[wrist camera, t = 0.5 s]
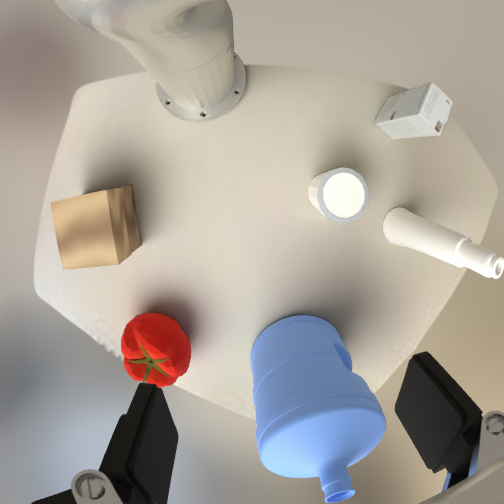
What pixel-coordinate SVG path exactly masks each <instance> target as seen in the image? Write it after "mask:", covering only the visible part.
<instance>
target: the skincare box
mask: <svg viewBox="0 0 504 504" xmlns="http://www.w3.org/2000/svg"><path fill="white" fill-rule="evenodd" d="M452 105H453V102H452V101H451V100H450V99H449V98H448V97H447V96H446V95H445V93H443V91H442V90H441V89H439V88H438V87H437V86H436V85H435V84H434V83H433V82H430V83H427V84H425V85H422V86H419V87H416V88H413V89H410V90H407V91H405V92H402V93H399V94H397V95H394V96H391V97H389V98H388V99H387V100H386V102H385V103H384V105H383V107H382V108H381V110H380V112H379V114H378V116H377V118H376V120H375V122H374V124H375V125H376V126H377V127H378V128H379V129H381V130H382V131H383V132H384V133H385V134H387V135H388V136H389V137H390V138H392V139H393V140H394V139H403V138H413V137H424V136H439V135H440V134H441V132H442V129H443V127H444V125H445V123H446V122H447V120H448V117H449V112H450V110H451V107H452Z"/></svg>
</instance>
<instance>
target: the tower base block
mask: <svg viewBox="0 0 504 504" xmlns="http://www.w3.org/2000/svg"><path fill="white" fill-rule="evenodd" d="M115 188H121V189H122V197H123V205H124V212H125V219H126V226H127V232H128V238H129V243H130V249H131V253H132V252H133V251H135V250H136V249H137V248H139V247H140V246H141V245H142V244H141V238H140V233H139V227H138V221H137V215H136V208H135V202H134V195H133V187H132V185H126V186H119V187H114V188H110V189H115ZM105 190H108V189H105ZM101 191H103V190H101ZM97 192H98V191H97ZM88 194H89V193H88Z"/></svg>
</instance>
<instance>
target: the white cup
mask: <svg viewBox="0 0 504 504" xmlns="http://www.w3.org/2000/svg"><path fill="white" fill-rule="evenodd" d="M308 195H309V198H310V201H311V203H312V204H313V205H314V206H315V207H316V208H317V209H318V210H319V211H320V212H321V213H322V214H323V215H325V216H326V217H327V218H328V219H330V220H332V221H334V222H336V223H345V224H347V223H350V222H352V221H355V220H357V219H358V218H359V217H360V216H361V215H362V214H363V213H364V211H365V209H366V207H367V205H368V200H369V191H368V187H367V183H366V182H365V180H364V179H363V177H362V176H361V175H360V174H359V173H357V172H356V171H354V170H353V169H350V168H343V167H340V168H337V169H334V170H331V171H328V172H325V173H322V174H319V175H317V176H316V177H315V178H314V179H313V180H312V181H311V183H310V186H309V193H308Z"/></svg>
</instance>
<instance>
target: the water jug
mask: <svg viewBox="0 0 504 504" xmlns="http://www.w3.org/2000/svg"><path fill="white" fill-rule="evenodd" d="M251 368H252V372H253V384H254V385H253V398H254V404H255V409H256V422H257V432H256V435H257V446H258V450H259V456H260V459H261V461H262V463H263V464H264V466H265V467H266V468H268V469H269V470H270V471H272V472H274V473H276V474H279V475H282V476H286V477H293V478H308V477H317V476H319V477H320V480H321V488H322V490H323V491H324V493H325V498H324V499H325V502H327V503H334V502H339V501H342V500H345V499H347V498H349V497H351V496H352V495H354V493H355V489H353V488H352V486H351V478H350V476H349V474H348V471H347V467H349V466H350V465H352V464H354V463H356V462H357V461H359V460H361V459H362V458H363V457H365V456H366V455H367V454H369V453H370V452H371V451H372V450H373V449H374V448H375V447H376V446H377V444H378V443H379V442H380V440H381V439H382V437H383V435H384V432H385V429H386V419H385V416H384V414H383V412H382V409H381V406H380V404H379V402H378V400H377V399H376V397H375V395H374V394H373V393H372V392H371V390H370V389H369V387H368V385H367V383H366V382H365V380H364V379H363V378H362V377H360V376H359V375H357V374H355V373H353V372H352V360H351V356H350V354H349V352H348V350H347V349H346V347H345V345H344V344H343V341H342V339H341V337H340V335H339V333H338V332H337V330H336V329H335V328H334V327H333V326H332V325H331V324H330V323H329V322H327V321H325V320H323V319H321V318H318V317H315V316H309V315H298V316H292V317H288V318H284V319H282V320H279V321H277V322H275V323H274V324H272V325H270V326H269V327H268V328H266V329H265V330H264V331H263V332H262V333H261V334H260V335H259V337H258V338H257V340H256V341H255V343H254V345H253V348H252V351H251Z"/></svg>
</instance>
